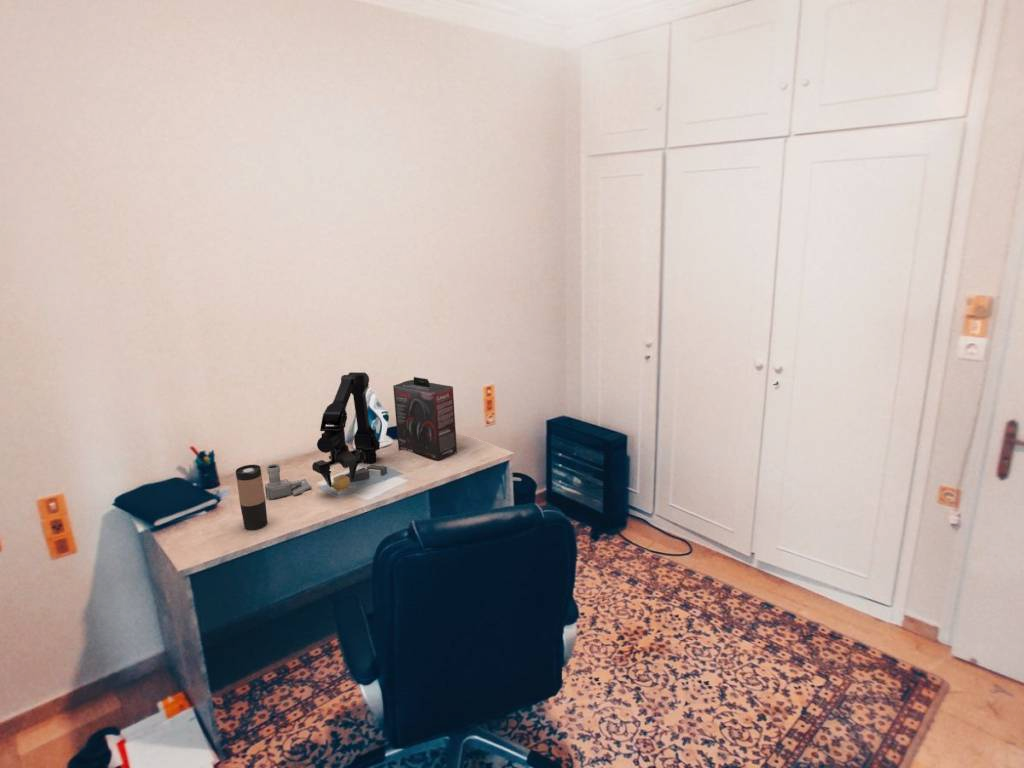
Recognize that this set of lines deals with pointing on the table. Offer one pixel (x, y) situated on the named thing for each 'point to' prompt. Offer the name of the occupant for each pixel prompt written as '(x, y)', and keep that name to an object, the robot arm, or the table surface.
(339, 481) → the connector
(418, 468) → the table surface
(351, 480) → the charcoal brick
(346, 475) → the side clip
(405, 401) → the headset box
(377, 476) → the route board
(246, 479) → the travel mug
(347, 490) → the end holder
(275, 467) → the grey angular model part
